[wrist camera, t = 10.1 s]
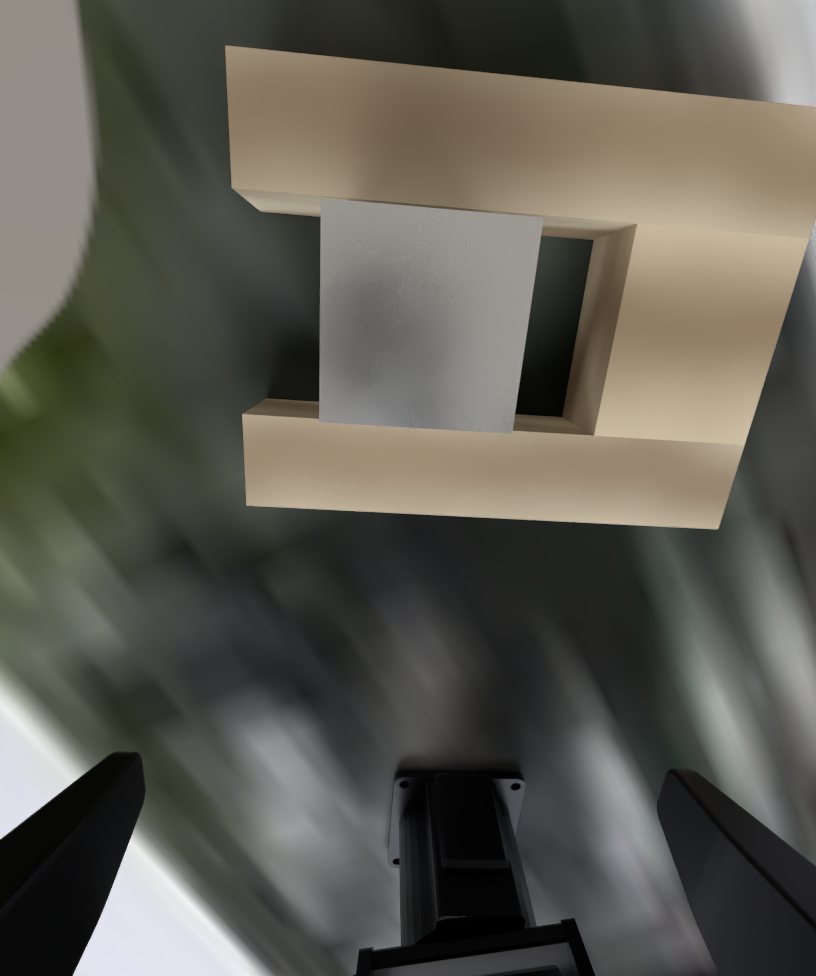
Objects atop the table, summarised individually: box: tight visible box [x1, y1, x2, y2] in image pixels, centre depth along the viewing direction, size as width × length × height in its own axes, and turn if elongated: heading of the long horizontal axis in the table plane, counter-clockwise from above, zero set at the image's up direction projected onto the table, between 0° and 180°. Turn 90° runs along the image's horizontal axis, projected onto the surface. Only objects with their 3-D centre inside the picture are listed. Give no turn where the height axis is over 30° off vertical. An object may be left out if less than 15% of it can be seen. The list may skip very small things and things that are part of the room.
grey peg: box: [319, 198, 544, 434], centre depth 13 cm, size 4×4×8 cm
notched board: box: [225, 45, 816, 529], centre depth 15 cm, size 12×16×3 cm
